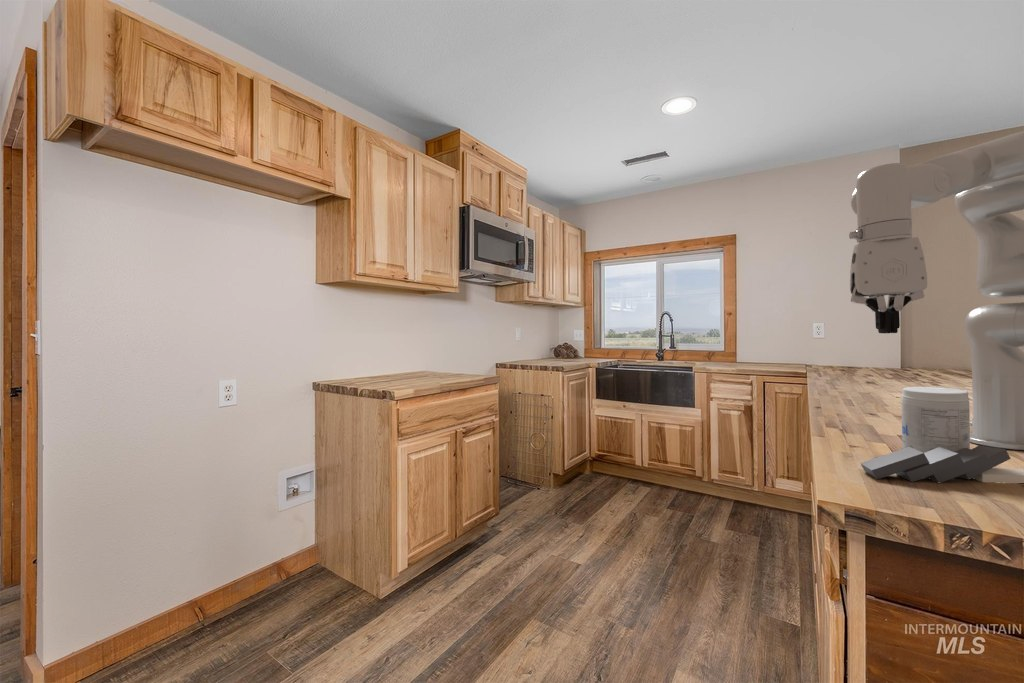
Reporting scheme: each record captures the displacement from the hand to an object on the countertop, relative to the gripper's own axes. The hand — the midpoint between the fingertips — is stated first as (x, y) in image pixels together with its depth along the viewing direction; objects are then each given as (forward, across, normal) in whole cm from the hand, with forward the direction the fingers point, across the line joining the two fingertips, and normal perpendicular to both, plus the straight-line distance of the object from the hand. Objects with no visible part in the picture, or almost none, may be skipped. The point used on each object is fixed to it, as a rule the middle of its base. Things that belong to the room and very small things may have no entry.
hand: (887, 332), depth 79 cm
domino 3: (+26, +4, -3) cm, 26 cm away
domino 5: (+26, +11, -1) cm, 28 cm away
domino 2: (+26, 0, -3) cm, 26 cm away
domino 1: (+25, -5, -3) cm, 26 cm away
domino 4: (+25, +8, -1) cm, 27 cm away
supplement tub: (+27, +10, +8) cm, 30 cm away
